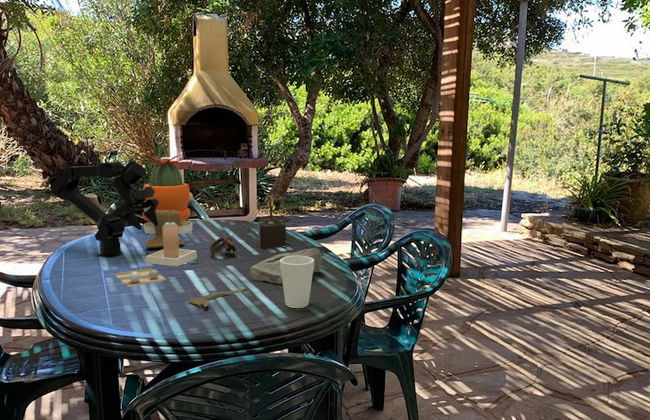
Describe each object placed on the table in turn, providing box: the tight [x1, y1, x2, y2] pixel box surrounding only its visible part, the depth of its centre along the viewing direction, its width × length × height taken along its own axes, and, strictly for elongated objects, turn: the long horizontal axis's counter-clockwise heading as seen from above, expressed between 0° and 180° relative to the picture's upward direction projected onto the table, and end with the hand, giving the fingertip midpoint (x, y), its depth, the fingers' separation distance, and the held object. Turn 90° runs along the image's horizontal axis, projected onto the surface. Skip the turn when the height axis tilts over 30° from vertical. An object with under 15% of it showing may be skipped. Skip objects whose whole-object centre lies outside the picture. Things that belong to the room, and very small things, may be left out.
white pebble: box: [129, 270, 141, 282], centre depth 156 cm, size 3×3×3 cm
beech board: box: [113, 267, 168, 288], centre depth 161 cm, size 16×12×1 cm
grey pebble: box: [149, 269, 160, 279], centre depth 159 cm, size 3×3×3 cm
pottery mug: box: [209, 236, 239, 258], centre depth 189 cm, size 12×10×8 cm
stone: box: [249, 247, 323, 285], centre depth 165 cm, size 18×10×20 cm
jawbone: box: [188, 286, 249, 310], centre depth 145 cm, size 9×20×2 cm, turn 154°
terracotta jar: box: [162, 222, 180, 259], centre depth 180 cm, size 5×5×14 cm
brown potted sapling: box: [257, 198, 287, 249], centre depth 207 cm, size 16×11×18 cm
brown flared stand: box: [145, 210, 185, 249], centre depth 201 cm, size 15×12×15 cm
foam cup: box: [280, 256, 314, 309], centre depth 138 cm, size 10×9×13 cm
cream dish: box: [145, 248, 198, 267], centre depth 181 cm, size 13×13×3 cm
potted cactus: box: [142, 154, 193, 235], centre depth 225 cm, size 22×22×35 cm
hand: (149, 227), depth 180 cm, fingers open, 9 cm apart
